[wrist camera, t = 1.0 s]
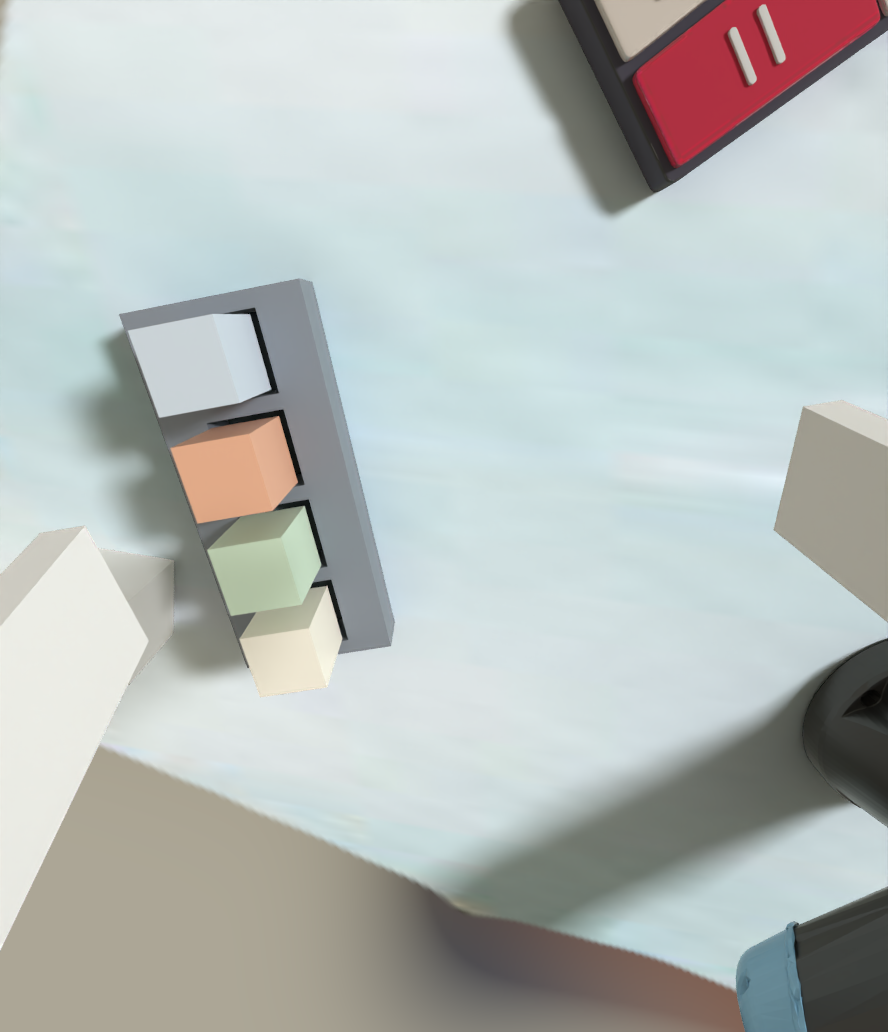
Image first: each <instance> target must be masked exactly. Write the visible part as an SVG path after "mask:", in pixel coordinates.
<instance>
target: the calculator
mask: <svg viewBox="0 0 888 1032" xmlns="http://www.w3.org/2000/svg"><path fill="white" fill-rule="evenodd" d="M559 2H560V4H561V6H562V8H563V10H564V12H565V15H566V17H567V19H568V21H569V23H570V25H571V27H572V29H573V31H574V33H575V35H576V37H577V39H578V41H579V43H580V45H581V47H582V50H583V52H584V54H585V56H586V58H587V60H588V62H589V64H590V66H591V68H592V70H593V72H594V74H595V76H596V78H597V80H598V82H599V85H600V87H601V89H602V91H603V93H604V95H605V97H606V99H607V101H608V103H609V105H610V107H611V109H612V111H613V113H614V115H615V117H616V120H617V122H618V124H619V126H620V128H621V130H622V132H623V134H624V136H625V138H626V140H627V142H628V144H629V146H630V148H631V150H632V152H633V154H634V157H635V159H636V161H637V163H638V165H639V167H640V169H641V171H642V173H643V175H644V177H645V179H646V181H647V183H648V185H649V187H650V189H651V190H652V191H654V192H658V191H661V190H663V189H664V188H666V187H668V186H670V185H671V184H673V183H675V182H677V181H678V180H680V179H681V178H682V177H684V176H685V175H687V174H688V173H689V172H691V171H692V170H694V169H695V168H696V167H698V166H699V165H701V164H702V163H703V162H705V161H706V160H708V159H709V158H710V157H712V156H713V155H714V154H716V153H717V152H719V151H720V150H721V149H723V148H724V147H726V146H727V145H728V144H730V143H731V142H733V141H734V140H735V139H737V138H738V137H740V136H741V135H742V134H744V133H745V132H747V131H748V130H749V129H751V128H752V127H754V126H755V125H756V124H758V123H759V122H760V121H762V120H763V119H765V118H766V117H767V116H769V115H770V114H772V113H773V112H774V111H776V110H777V109H779V108H780V107H781V106H783V105H784V104H786V103H787V102H788V101H790V100H791V99H793V98H794V97H795V96H797V95H798V94H799V93H801V92H802V91H804V90H805V89H806V88H808V87H809V86H811V85H812V84H813V83H815V82H816V81H818V80H819V79H820V78H822V77H823V76H825V75H826V74H827V73H829V72H830V71H832V70H833V69H834V68H836V67H837V66H839V65H840V64H841V63H843V62H844V61H845V60H847V59H848V58H850V57H851V56H852V55H854V54H855V53H857V52H858V51H859V50H861V49H862V48H864V47H865V46H866V45H868V44H869V43H871V42H872V41H873V40H875V39H876V38H878V37H879V36H880V35H882V34H883V33H884V32H886V31H887V30H888V0H559Z"/></svg>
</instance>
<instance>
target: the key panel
mask: <svg viewBox="0 0 888 1032" xmlns="http://www.w3.org/2000/svg"><path fill="white" fill-rule="evenodd" d="M254 311H256V313H257V316H258V320H259V323H260V327H261V330H262V334H263V338H264V341H265V345H266V348H267V352H268V355H269V359H270V363H271V366H272V370H273V373H274V377H275V380H276V384H277V387H278V390H273V391H268V392H264V393H262V394H259V395H257V396H255V397H252V398H250V399H248V400H245V401H243V402H241V403H236V404H231V405H226V406H220V407H215V408H210V409H204V410H199V411H193V412H188V413H183V414H177V415H172V416H166V417H161V418H159V416H158V413H157V410H156V408H155V405H154V402H153V399H152V397H151V394H150V391H149V388H148V386H147V383H146V380H145V377H144V374H143V372H142V369H141V366H140V363H139V361H138V358H137V355H136V352H135V350H134V347H133V344H132V341H131V339H130V336H129V333H128V330H133V329H138V328H144V327H149V326H154V325H159V324H164V323H169V322H174V321H179V320H184V319H189V318H194V317H200V316H205V315H210V314H244V313H249V312H254ZM119 316H120V318H121V321H122V324H123V327H124V329H125V332H126V335H127V338H128V340H129V343H130V346H131V349H132V351H133V354H134V357H135V360H136V362H137V365H138V368H139V371H140V373H141V376H142V379H143V382H144V384H145V387H146V390H147V393H148V395H149V398H150V401H151V404H152V406H153V409H154V412H155V415H156V417H157V420H158V423H159V426H160V428H161V431H162V434H163V437H164V439H165V442H166V445H167V448H168V450H169V453H170V456H171V459H172V461H173V464H174V467H175V470H176V472H177V475H178V478H179V481H180V483H181V486H182V489H183V492H184V494H185V497H186V500H187V503H188V505H189V508H190V511H191V514H192V516H193V519H194V522H195V525H196V527H197V530H198V533H199V536H200V538H201V541H202V544H203V547H204V549H205V552H206V555H207V558H208V560H209V563H210V566H211V569H212V571H213V574H214V577H215V580H216V582H217V585H218V588H219V591H220V594H221V596H222V599H223V602H224V605H225V607H226V610H227V613H228V616H229V618H230V621H231V624H232V627H233V629H234V632H235V635H236V638H237V640H238V643H239V646H240V649H241V651H242V654H243V657H244V660H245V662H246V665H247V668H249V665H248V662H247V659H246V656H245V654H244V651H243V648H242V645H241V643H240V640H239V639H240V637H241V636H242V634H243V633H244V631H245V629H246V628H247V626H248V625H249V623H250V621H251V620H252V618H253V617H254V615H255V614H256V612H253V613H247V614H240V615H234V616H231V615H230V612H229V609H228V607H227V604H226V601H225V598H224V596H223V593H222V590H221V587H220V585H219V582H218V579H217V576H216V574H215V571H214V568H213V565H212V562H211V560H210V557H209V554H208V551H207V550H208V549H209V548H210V547H211V546H212V545H213V544H214V543H215V542H216V541H217V540H218V539H219V538H220V537H221V536H222V535H223V534H224V533H225V532H226V531H227V530H228V529H229V528H230V527H231V526H232V525H233V524H234V523H235V522H236V521H237V520H238V519H239V518H240V517H242V516H239V517H233V518H227V519H222V520H216V521H210V522H204V523H198V524H197V521H196V518H195V515H194V513H193V510H192V507H191V504H190V502H189V499H188V496H187V493H186V491H185V488H184V485H183V482H182V480H181V477H180V474H179V471H178V468H177V466H176V463H175V460H174V457H173V455H172V452H171V449H170V448H172V447H174V446H176V445H178V444H180V443H182V442H184V441H186V440H188V439H190V438H192V437H194V436H196V435H199V434H201V433H203V432H205V431H207V430H209V429H211V428H215V427H221V426H226V425H229V422H228V419H233V418H238V417H243V416H249V415H254V414H260V413H265V412H271V411H276V410H282V409H284V412H285V416H286V420H287V423H288V427H289V430H290V434H291V437H292V441H293V445H294V448H295V452H296V455H297V459H298V462H299V466H300V470H301V473H302V474H300V475H296V478H297V481H298V483H297V484H296V485H295V486H294V487H293V488H292V489H291V491H290V492H289V493H288V494H287V495H286V496H285V497H284V499H283V500H282V501H281V502H280V503H279V504H284V503H290V502H296V501H301V500H307V499H309V502H310V505H311V509H312V512H313V516H314V519H315V523H316V527H317V530H318V534H319V537H320V541H321V544H322V548H323V550H321V551H318V555H319V558H320V562H321V567H320V569H319V571H318V573H317V575H316V577H315V579H314V581H313V582H319V581H325V580H332V584H333V587H334V591H335V594H336V598H337V602H338V605H339V609H340V612H341V616H342V619H338V620H337V622H338V625H339V629H340V632H341V636H342V642H341V645H340V648H339V651H338V654H343V653H349V652H356V651H362V650H369V649H375V648H382V647H388V646H391V642H392V636H393V630H394V623H395V622H394V618H393V613H392V609H391V605H390V601H389V597H388V593H387V589H386V585H385V580H384V576H383V572H382V568H381V564H380V560H379V556H378V552H377V547H376V543H375V539H374V535H373V531H372V527H371V523H370V519H369V514H368V510H367V506H366V502H365V498H364V494H363V490H362V486H361V481H360V477H359V473H358V469H357V465H356V461H355V457H354V453H353V448H352V444H351V440H350V436H349V432H348V428H347V424H346V420H345V415H344V411H343V407H342V403H341V399H340V395H339V391H338V387H337V382H336V378H335V374H334V370H333V366H332V362H331V358H330V354H329V349H328V345H327V341H326V337H325V333H324V329H323V325H322V321H321V316H320V312H319V308H318V304H317V300H316V296H315V292H314V288H313V283H312V282H310V281H306V280H303V279H295V280H290V281H285V282H280V283H275V284H269V285H264V286H259V287H254V288H249V289H244V290H239V291H234V292H229V293H224V294H219V295H214V296H209V297H204V298H199V299H194V300H189V301H184V302H179V303H174V304H169V305H164V306H159V307H154V308H149V309H144V310H139V311H134V312H128V313H123V314H119ZM257 514H258V513H257ZM251 515H253V514H251ZM245 516H248V515H245Z"/></svg>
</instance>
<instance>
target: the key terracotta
mask: <svg viewBox="0 0 888 1032" xmlns="http://www.w3.org/2000/svg"><path fill="white" fill-rule="evenodd" d="M170 449H171V452H172V455H173V457H174V460H175V463H176V466H177V468H178V471H179V474H180V477H181V480H182V482H183V485H184V488H185V491H186V493H187V496H188V499H189V502H190V504H191V507H192V510H193V513H194V515H195V518H196V521H197V524H198V523H204V522H210V521H216V520H222V519H227V518H233V517H239V516H245V515H251V514H257V513H262V512H268V511H273V510H274V509H275V508H276V507H277V505H278V504H279V503H280V502H281V501H282V500H283V499H284V497H285V496H286V495H287V494H288V493H289V492H290V491H291V489H292V488H293V487H294V486H295V485H296V484H297V483H298V481H297V478H296V474H295V470H294V467H293V463H292V460H291V456H290V453H289V449H288V446H287V442H286V439H285V435H284V432H283V428H282V425H281V421H280V418H279V416H275V417H270V418H265V419H259V420H254V421H248V422H243V423H237V424H232V425H226V426H221V427H215V428H211V429H209V430H207V431H205V432H203V433H201V434H199V435H196V436H194V437H192V438H190V439H188V440H186V441H184V442H182V443H180V444H178V445H176V446H174V447H172V448H170Z"/></svg>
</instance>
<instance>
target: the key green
mask: <svg viewBox="0 0 888 1032" xmlns="http://www.w3.org/2000/svg"><path fill="white" fill-rule="evenodd" d="M207 551H208V554H209V557H210V560H211V562H212V565H213V568H214V571H215V574H216V576H217V579H218V582H219V585H220V587H221V590H222V593H223V596H224V598H225V601H226V604H227V607H228V609H229V612H230V615H231V616H234V615H240V614H247V613H253V612H259V611H265V610H272V609H278V608H284V607H290V606H297V605H302V603H303V601H304V599H305V597H306V595H307V593H308V591H309V589H310V587H311V585H312V583H313V581H314V579H315V577H316V575H317V573H318V571H319V569H320V567H321V562H320V558H319V555H318V551H317V548H316V544H315V541H314V537H313V534H312V530H311V527H310V523H309V520H308V516H307V513H306V509H305V506H300V507H294V508H288V509H283V510H277V511H271V512H265V513H259V514H253V515H248V516H242V517H240V518H239V519H238V520H237V521H236V522H235V523H234V524H233V525H232V526H231V527H230V528H229V529H228V530H227V531H226V532H225V533H224V534H223V535H222V536H221V537H220V538H219V539H218V540H217V541H216V542H215V543H214V544H213V545H212V546H211V547H210V548H209V549H208V550H207Z"/></svg>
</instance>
